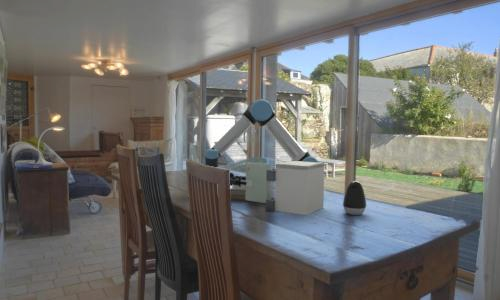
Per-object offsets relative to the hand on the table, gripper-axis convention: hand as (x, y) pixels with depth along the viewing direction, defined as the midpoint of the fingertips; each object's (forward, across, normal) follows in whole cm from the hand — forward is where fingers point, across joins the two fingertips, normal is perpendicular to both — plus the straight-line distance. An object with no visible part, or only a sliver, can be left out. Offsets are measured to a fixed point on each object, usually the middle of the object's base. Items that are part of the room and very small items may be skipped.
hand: (258, 182), depth 203 cm
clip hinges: (+16, +12, -10) cm, 22 cm away
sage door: (-1, 0, -10) cm, 10 cm away
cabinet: (+26, +4, -10) cm, 28 cm away
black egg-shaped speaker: (+50, -2, -10) cm, 51 cm away
